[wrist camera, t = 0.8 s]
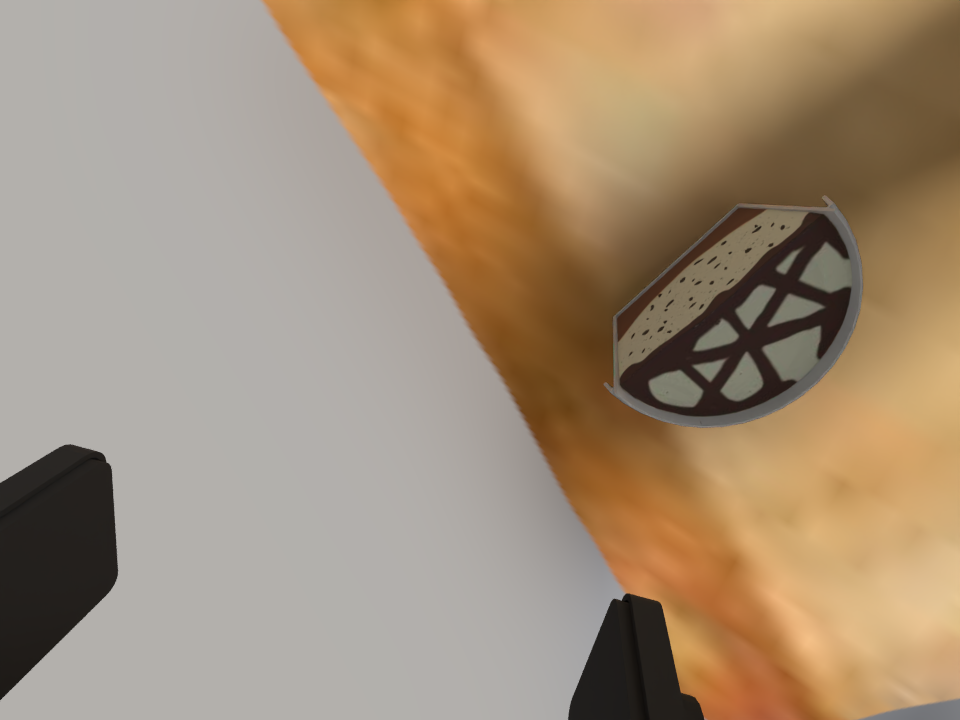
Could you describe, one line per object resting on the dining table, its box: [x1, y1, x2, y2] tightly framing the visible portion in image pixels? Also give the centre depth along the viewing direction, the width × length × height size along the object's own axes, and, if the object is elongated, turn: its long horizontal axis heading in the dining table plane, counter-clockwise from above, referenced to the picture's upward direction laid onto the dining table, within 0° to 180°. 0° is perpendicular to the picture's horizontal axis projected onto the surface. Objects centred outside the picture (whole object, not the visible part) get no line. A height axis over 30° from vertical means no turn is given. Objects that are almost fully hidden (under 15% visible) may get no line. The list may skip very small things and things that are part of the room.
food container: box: [604, 195, 863, 428], centre depth 28 cm, size 12×6×10 cm, turn 138°
